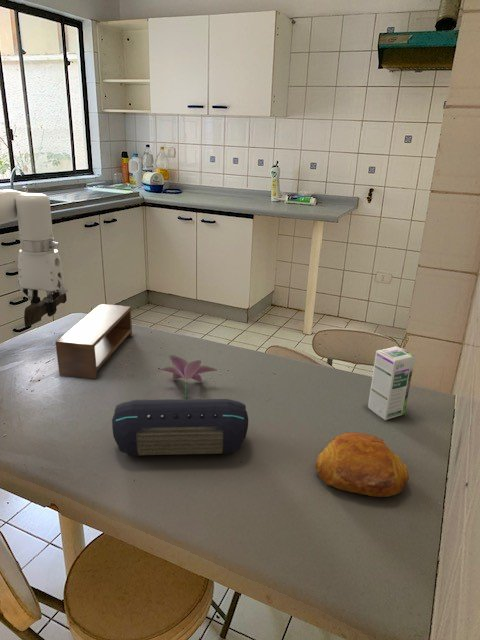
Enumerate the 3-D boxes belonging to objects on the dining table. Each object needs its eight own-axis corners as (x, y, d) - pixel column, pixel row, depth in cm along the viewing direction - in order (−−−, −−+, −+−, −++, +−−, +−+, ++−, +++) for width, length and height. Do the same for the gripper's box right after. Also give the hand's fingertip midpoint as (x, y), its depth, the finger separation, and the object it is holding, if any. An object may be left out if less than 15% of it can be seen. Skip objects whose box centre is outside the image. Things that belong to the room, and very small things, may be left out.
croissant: (401, 522, 76) (417, 486, 72) (308, 490, 79) (320, 454, 75) (398, 464, 89) (412, 431, 85) (319, 438, 91) (329, 406, 88)
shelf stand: (59, 375, 111) (55, 341, 108) (102, 332, 135) (100, 303, 132) (95, 379, 110) (92, 345, 107) (132, 335, 134) (130, 306, 131)
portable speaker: (109, 468, 82) (105, 420, 78) (118, 433, 91) (115, 389, 87) (249, 464, 84) (252, 418, 80) (244, 431, 93) (247, 388, 90)
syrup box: (385, 421, 99) (396, 360, 93) (366, 407, 104) (376, 349, 98) (404, 415, 101) (417, 355, 96) (385, 401, 106) (396, 344, 101)
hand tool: (54, 301, 130) (52, 285, 128) (67, 303, 130) (66, 287, 128) (15, 327, 113) (12, 310, 111) (30, 329, 112) (28, 311, 111)
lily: (223, 395, 108) (221, 354, 109) (195, 398, 98) (193, 353, 99) (180, 396, 113) (179, 357, 115) (150, 400, 103) (148, 356, 104)
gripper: (76, 244, 117) (81, 312, 124) (14, 238, 119) (22, 305, 126) (62, 251, 110) (67, 322, 117) (-4, 245, 112) (6, 315, 119)
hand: (44, 313), depth 121 cm, fingers closed on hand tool, 3 cm apart
